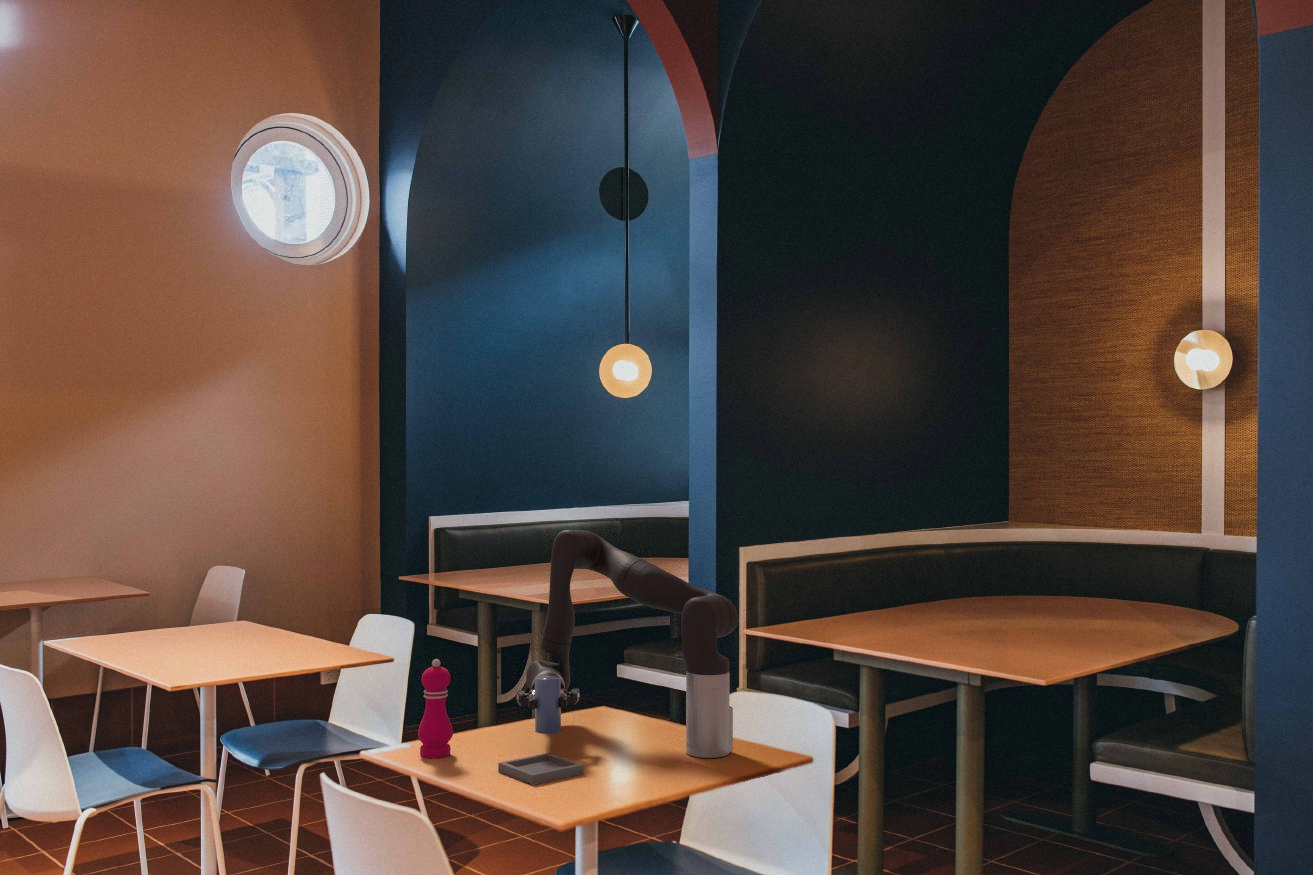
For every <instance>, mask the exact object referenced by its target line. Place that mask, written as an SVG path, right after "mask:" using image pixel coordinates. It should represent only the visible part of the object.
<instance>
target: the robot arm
mask: <svg viewBox="0 0 1313 875" xmlns="http://www.w3.org/2000/svg"><path fill="white" fill-rule="evenodd" d="M574 570H589V571H592V572H596V573H598V574H601V575H602V576H605V577H606V578H608V579H609V580H611V582H612V584H613V585H614V587H615V588H616V589H617V590H618V592H619V593H621V594H622V595H624V596H625V597H627V598H629V599H631V600H632V601H635V602H636V603H638V604H639V605H643V606H645V607H647V608H652V609H655V610H661V611H665V612H670V613H675V614H678V615H681V619H680V620H681V621H680V622H681V623H680V626H681V628H680V629H681V648H682V649H681V650H682V656H683V659H684V662H685V665H686V666H685V674H686V675H685V676H686V677H685V682H686V683H685V685H686V686H685V690H686V691H685V692H686V693H685V694H686V695H685V698H686V699H685V703H686V705H685V706H686V707H685V709H686V710H685V712H686V713H685V720H686V721H685V722H686V724H685V745H686V746H685V747H686V749H685V753H686V755H689V756H692V757H696V758H702V759H705V758H707V759H713V758H721V757H726V756H728V755H730V753H733V751H734V743H733V741H734V738H733V737H734V708H733V706H731V705H730V660H729V658H728V657H727V656H725V655H723V654H721V653H720V652H719V650H718V641H717V639H719V638H721V639H722V638H723V637H726V636H728V635H730V634H731V633H732V632H734V631H735V630H736V628H737V626H738V624H739V615H738V611H737V607H736V606H735V605H734V603H733V602H732V601H731V600H730V599H728V598H727V597H725V596H724V595H722V594H719V593H716V592H714V591H710V590H707V589H704V588H702V587H698V586H696V585H694V584H691V583H690V582H687V581H686V580H684V579H682V578H680V577H678V576H676V575H674V574H672V573H671V572H668V571H666V570H665V569H663V568H661V567H659V566H657V565H655V564H653V563H651V562H650V561H647V560H646V559H642V558H640V557H638V556H637V555H634V554H632V553H631V552H630V553H629V552H626V551H623V550H621V549H620V548H618V547H616V546H614V545H613V544H611V543H610V542H609V541H607V540H605V539H604V538H602V537H601V536H599V535H598V534H596V533H595V532H592V531H589V530H581V529H564V530H562V531H560V532H558V534H557V535H556V537H555V538H554V541H553V543H552V549H551V557H550V574H549V589H548V590H549V591H548V592H549V594H548V605H547V613H546V617H545V623H544V626H543V632H542V636H541V641H540V648H541V649H542V651H543V652H545V653H547V654H549V655H551V656H553V657H555V658H556V659H557V660H558V663H556V662H551V661H547V660H543V659H541V660H540V659H537V660H534V661H532V662H531V663H530V664H529V665H528V667H527V669H526V674H525V679H526V680H525V682H526V685H527V687H528V688H529V691H528V693H526V691H525V690H521V689H518V690H516V703H517V704H518V705H519V707H520V708H521V707H522V708H525V707H527V705H528V708H531V710H534V711H535V678H537V677H542V676H557V677H560V681H561V697H560V705H561V710H562V709H565V707H568V704H569V706H576V704H577V703H578V702H579V701H580V688H578V687H575V688H573V689H570V691H568V689H569V687H570V685H571V669H570V668H571V667H570V650H571V645H572V639H573V636H574V635H573V634H574V629H575V624H576V615H575V614H576V612H575V608H574V605H573V604H574V603H573V601H572V594H571V581H572V577H573V573H574Z"/></svg>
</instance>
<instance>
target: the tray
mask: <svg viewBox="0 0 1313 875" xmlns="http://www.w3.org/2000/svg"><path fill="white" fill-rule="evenodd" d="M497 768H498V773H500V774H503V775H506V776H508V777H510V778H514V779H516V780H518V781H521V782H524V783H527V784H529V785H531V786H535V785H537V784H538V785H539V784H543V783H548V782H553V781H558V780H560V779H566V778H571V777H575V776H580V775H584V764H582V763H579V762H576V761H574V760H571V759H567V758H564V757H562V756H558V755H557V754H553V753H550V752H546V753H541V754H537V755H536V754H535V755H531V756H526V757H521V758H515V759H511V760H505V761H500V762H498V767H497Z"/></svg>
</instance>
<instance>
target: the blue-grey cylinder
mask: <svg viewBox="0 0 1313 875" xmlns="http://www.w3.org/2000/svg"><path fill="white" fill-rule="evenodd" d="M560 697H561V681H560V677H557V676H542V677H537V678H535V710H534V715H535V716H534V718H535V719H534V720H535V721H534V725H535V726H534V730H535V731H534V732H535V733H537V734H545V735H547V734H549V735H550V734H556V733H560V732H561V731H562V709H561V705H560Z"/></svg>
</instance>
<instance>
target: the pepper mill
mask: <svg viewBox="0 0 1313 875" xmlns="http://www.w3.org/2000/svg"><path fill="white" fill-rule="evenodd" d="M450 683H451V674H450V672H449V670H448V669H447V668H445V667H443V666H441V661H440V659H438V658H435V659H433V660H432V662H431V666H429V667H427V669H425V670H424V671H423V673H422V674H421V684H422V687H424V690H423V693H424V694H423V698H425V709H424V713H423V717H422V718H421V721H420V724H419V727H418V730H417V738H418V740H419V742H421V744H422V745H421V746H420V748H419V755H420V757H421V758H426V759H440V758H445V757H448V756H449V755H450V754H451V745H450V743H449V742H450V741H451V739H452V738H453V734H454V733H453V731H454V730H453V726H452V723H451V720H450V718H449V716H448V712H447V706H446V700H447V697H448V696H449V694H448V692H449V690H448V689H447V687H448V686H449V685H450Z"/></svg>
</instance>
